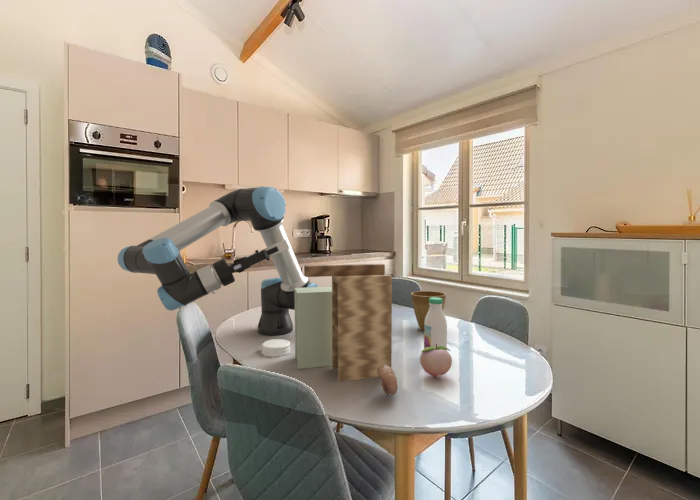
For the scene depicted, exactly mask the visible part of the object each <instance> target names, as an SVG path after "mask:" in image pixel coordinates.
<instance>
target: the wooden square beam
mask: <svg viewBox="0 0 700 500" xmlns="http://www.w3.org/2000/svg"><path fill="white" fill-rule="evenodd" d="M303 266H304V267H303V269H304V270H303V273H304V276H305V277H308V278H317V277H324V278H325V277H332V276H354V275H384V274H386V269H385V268H386V267H385V266H386V265H385V264H383V263H359V264H358V263H357V264H354V263H352V264H324V265H323V264H322V265H321V264H317V265H314V264H313V265H311V264H310V265H303Z"/></svg>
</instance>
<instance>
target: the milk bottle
mask: <svg viewBox="0 0 700 500" xmlns="http://www.w3.org/2000/svg"><path fill="white" fill-rule="evenodd" d="M442 303H443V299H442V298H438V297H432V298H429V305H430V307H429V311H428V313H427V315H426V317H425V322H424V331H423V349H425V348H427V347H436V344H437V347H438V346H444V347H447V346H448V343H447V342H448V329H447V328H448V324H447V323H448V322H447V317H446V316H445V315H446V314H445V312H444V309H443V310H442V305H443V304H442ZM447 348H448V347H447Z"/></svg>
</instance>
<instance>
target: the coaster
mask: <svg viewBox="0 0 700 500" xmlns="http://www.w3.org/2000/svg"><path fill="white" fill-rule="evenodd" d="M290 353H291V342H290V340H288V339H283V338H281V339H280V338H276V339H275V338H274V339H268V340H266V341H264V342H263V343H262V344H261V354H262V355H263V356H265V357H269V358H270V357H272V358H274V357H276V358H278V357H283V356H285V355H288V354H290Z"/></svg>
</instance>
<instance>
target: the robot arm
mask: <svg viewBox="0 0 700 500" xmlns="http://www.w3.org/2000/svg"><path fill="white" fill-rule="evenodd" d="M286 207H287V204H286V199H285V198H284V196H283V194H282V193H281V192H280V191H279V190H278V189H277V188H275V187H273V186H257V187H246V188H238V189H236V190H235V189H234V190H232V191H230V192H228V193H226V194H224V195H222V196H221V197H219V198H217V199H216V200H215V199H214V200H213V201H211V202H210V203H209V205H208V206H207V208H205V209H203V210H200V211H199V212H197V213H196V214H193V215H192V216H190V217H188V218H186V219H183V221H180V222H178V223H177V224H175V225H173V226H171V227H170V228H168V229H165V230H164V231H162V232H160V233H158V234H157V235H154V236H153V237H150V238H149V239H147V240H144V241H143V242H141V243H138V244H137V245H129V246H126V247H124V248H122V249H121V250H120V251H119V253H118V254H117V264H118V266H120V267H121V269H122V270H124V271H126V272H130V273H134V274H138V273H139V274H148V275H149V274H150V275H155V276H156V277H157V279H158V281H159V282H160V283H161V285H160V286H159V287H158V288H157V290H156V293H157V296H158V298H159V300H160V303H161V304H162V305H163V307H164V308H165V310H168V311H169V312H171V311H175V310H177V309H180V308H182V307H186V306H187V305H188V304H189V305H190V303H193V302H195V301H197V300H199V299H201V298H203V297H205V296H208V295H210V294H212V295H215V294H216V291H218V290H220V289H221V288H222V286H223V287H226V286H229V285H231V284H233V283H234V282H235V281H236V278H235V277H234V273H239V274H240V273H243V272H244V271H245V270H247V269H250V268H252V266H253V265H255V264H258V263H260V262H263V261H265V260H266V261H267V262H269V261H270V260H272V263H273V264H274V266H275V269H276V271H277V273H278V275H279V277H272V278H266V279H265V278H264V279H263V280H262V281H261V286H260V287H261V288H260V300H261V301H260V303H261V305H260V307H261V309H260V310H261V312H260V313H261V314H260V317H259V320H258V323H257V324H258V325H257V333H258V334H260V335H263V336H264V335H265V336H280V335H281V336H282V335H286V334H289V333H292V332H293V330H294V322H293V320H292V318H291V314H290V310H293V311H295V293H294V288H307V287H319V286H318V284H317V283H314V282H311V281H310V279H309V278H310V277H305V276H304V272H303V270H302V269H301V267H300V264H299V262H298V259H297V256H296V255H295V252H294V249H293V247H292V245H291V242H290V240H289V238H288V235H287V232H286V229H285V228H284V225H283V222H284V220H285V217H284V216H285V214H286ZM238 222H250V223H251V226H252V228H253V230H254V231H255V232H259V233H260V235H261V237H262V239H263V242H264V244H265V246H266V247H265V248H263V249H260V250H259V249H256V250H254V253H252V254H250V255H248V256H243V257H241V258H237V259H234V260H233V261H232V262H233V263H230V265H229V264H228V263H227V261H226V259H225V258H222V259H219V260H217V261H215V262H214V263H212V265H210V264H208V265H205V266H204V267H201V268H199V269H196V270H195V271H193V272H190V271H189V269H188V267H187V265H186V263H185V261H184V260H183V258H182V256H181V254H180V251H182V250H184V249H185V248H187V247H189V246H190V245H191V244H193V243H195V242H197V241H199V240H200V239H202V238H203V237H205V236H207V235H208V234H210V233H212V232H213V231H215V230H217V229H218V228H220V227H228V226H229V225H231V224H233V223H238Z"/></svg>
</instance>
